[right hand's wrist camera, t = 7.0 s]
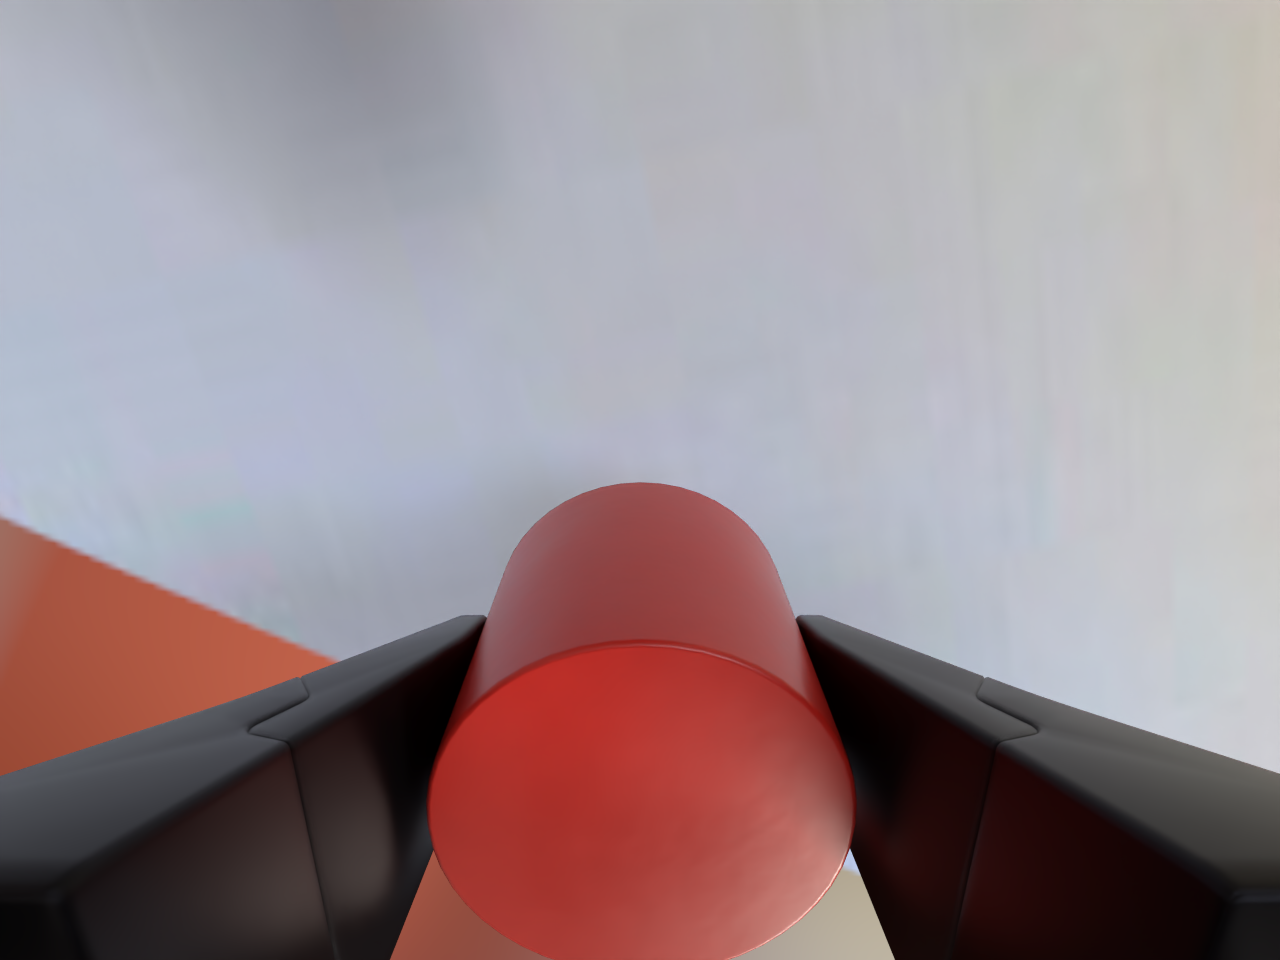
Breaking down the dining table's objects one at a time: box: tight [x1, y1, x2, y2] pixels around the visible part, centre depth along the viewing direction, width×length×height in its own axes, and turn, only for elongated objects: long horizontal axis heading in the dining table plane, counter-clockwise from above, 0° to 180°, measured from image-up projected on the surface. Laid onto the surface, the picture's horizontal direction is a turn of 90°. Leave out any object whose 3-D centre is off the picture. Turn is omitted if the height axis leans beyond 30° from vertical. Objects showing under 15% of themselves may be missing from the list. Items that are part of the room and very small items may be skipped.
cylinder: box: [426, 482, 857, 960], centre depth 10 cm, size 5×5×5 cm
